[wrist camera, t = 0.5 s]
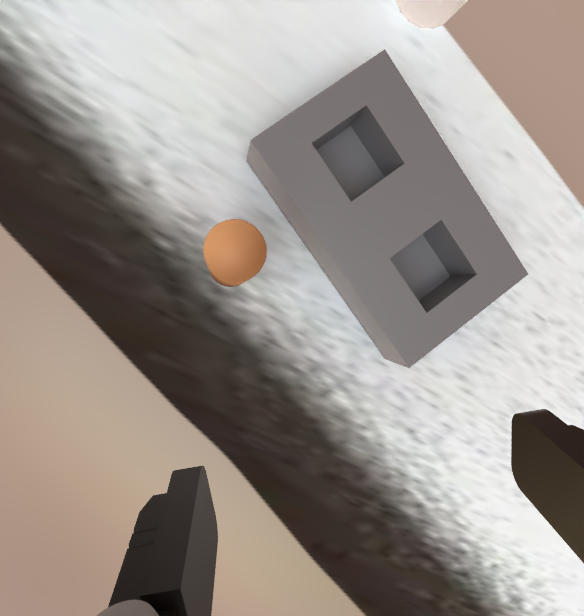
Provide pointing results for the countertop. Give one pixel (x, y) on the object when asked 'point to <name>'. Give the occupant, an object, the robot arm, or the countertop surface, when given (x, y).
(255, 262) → the peg
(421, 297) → the hole block
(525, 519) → the countertop surface
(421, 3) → the shot glass
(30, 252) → the countertop surface
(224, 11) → the countertop surface
